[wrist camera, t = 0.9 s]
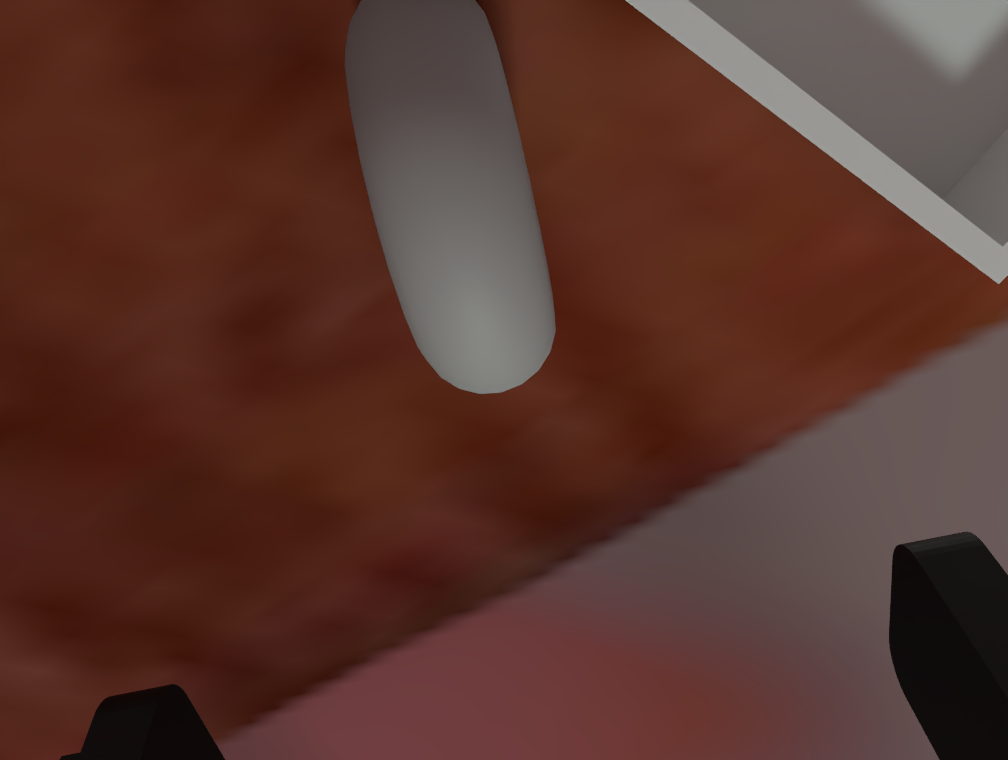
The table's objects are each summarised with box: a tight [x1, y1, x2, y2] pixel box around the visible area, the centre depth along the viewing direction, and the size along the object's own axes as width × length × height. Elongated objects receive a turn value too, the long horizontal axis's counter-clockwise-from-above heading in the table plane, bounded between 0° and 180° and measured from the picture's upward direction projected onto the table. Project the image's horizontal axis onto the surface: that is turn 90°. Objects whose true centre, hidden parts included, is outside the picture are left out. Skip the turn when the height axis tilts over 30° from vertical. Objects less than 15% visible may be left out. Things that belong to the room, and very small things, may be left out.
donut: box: [345, 0, 556, 394], centre depth 22 cm, size 10×3×10 cm, turn 12°
